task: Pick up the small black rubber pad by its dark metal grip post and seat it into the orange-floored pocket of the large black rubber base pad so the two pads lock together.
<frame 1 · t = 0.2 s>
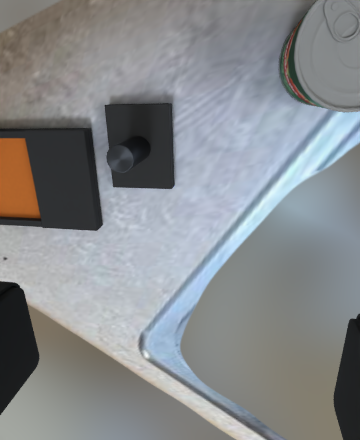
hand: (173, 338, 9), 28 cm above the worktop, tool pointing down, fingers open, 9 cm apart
canned tomato: (321, 61, 30), on the worktop
black pad: (142, 146, 36), on the worktop
base pad: (37, 178, 40), on the worktop
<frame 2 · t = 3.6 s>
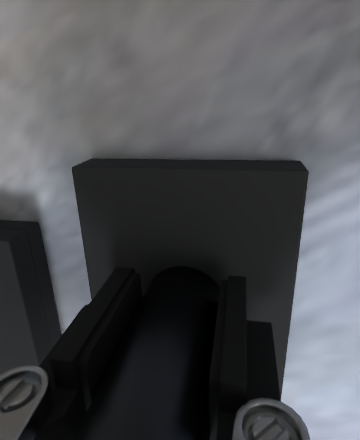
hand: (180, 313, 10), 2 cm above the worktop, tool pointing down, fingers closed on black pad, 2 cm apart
black pad: (191, 277, 12), on the worktop, touching gripper
when the fingers open (3 cm above the worktop, at t = 8.6 s): black pad stays where it is, resting on base pad.
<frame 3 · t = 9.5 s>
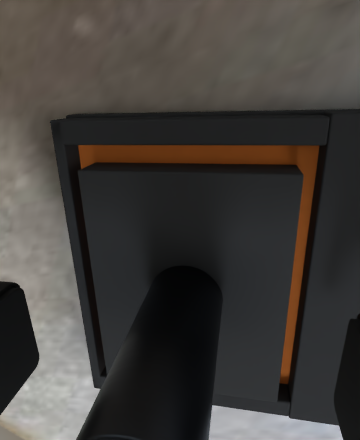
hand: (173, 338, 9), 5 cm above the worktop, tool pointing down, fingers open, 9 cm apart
black pad: (191, 276, 13), point 1 cm above the worktop, touching base pad
base pad: (282, 268, 13), on the worktop
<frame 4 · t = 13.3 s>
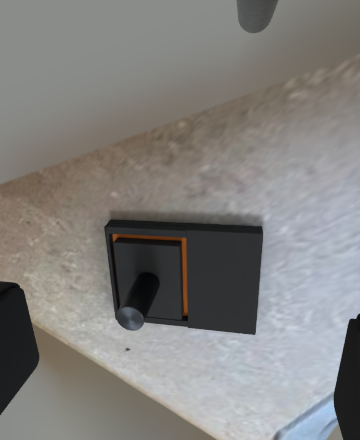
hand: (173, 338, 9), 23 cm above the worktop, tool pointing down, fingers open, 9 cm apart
black pad: (151, 275, 35), point 1 cm above the worktop, touching base pad
base pad: (184, 272, 36), on the worktop
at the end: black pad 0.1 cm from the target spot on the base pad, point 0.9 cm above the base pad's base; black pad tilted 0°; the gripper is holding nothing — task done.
